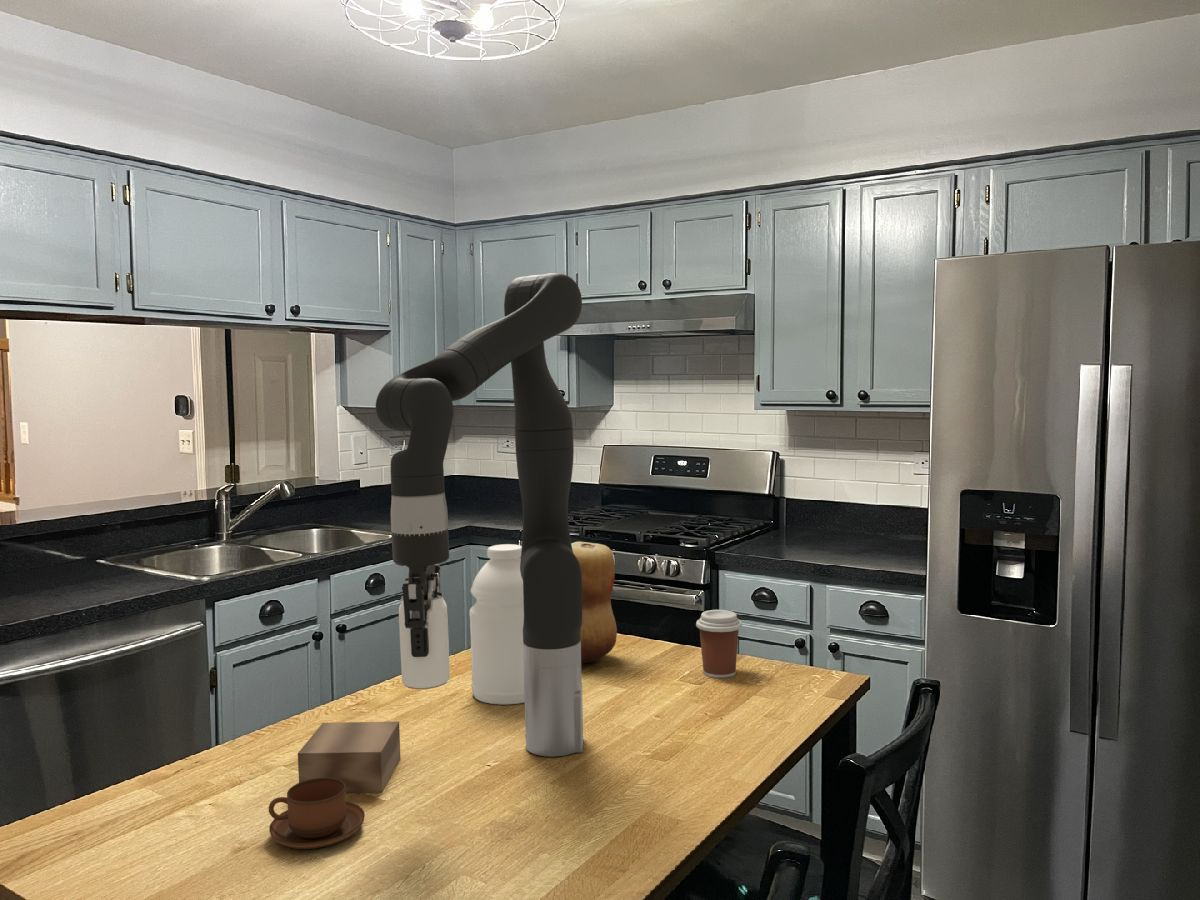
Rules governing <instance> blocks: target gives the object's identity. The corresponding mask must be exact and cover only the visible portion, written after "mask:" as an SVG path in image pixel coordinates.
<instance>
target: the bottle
mask: <svg viewBox="0 0 1200 900" xmlns="http://www.w3.org/2000/svg"><path fill="white" fill-rule="evenodd" d="M521 550H522V545H519V544H515V543H514V544H513V543H512V544H511V543H505V544H495V545H491V546H489V547H488V548H487V551H486V552H487V553H486V556H487V558H489V560H487V562H485V564H484V565H483V566H482V567H481V568H480V569H479V571H478V573H477V574H476V576H475V578H474V580H473V582H472V585H471V588H470V594H471V595H472V596H473V597H474V598H475V599H476V602H475V603H474V604H473V605H472V606H471V608H470V609H469V613H468V615H469V627H470V628H469V629H470V656H471V657H470V658H471V659H470V660H471V661H470V662H471V685H470V687H471V692H472V694H473V697H474V698H475V699H476V700H478V701H480V702H482V703H487V704H491V705H506V706H507V705H517V704H525V698H524V658H523V623H524V601H523V580H522V577H521V572H520V561H521Z"/></svg>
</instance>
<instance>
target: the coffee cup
mask: <svg viewBox="0 0 1200 900" xmlns="http://www.w3.org/2000/svg"><path fill="white" fill-rule="evenodd" d="M737 616H738V615H737V613H736V612H735V611H731V610H729V609H727V610H726V609H711V610H705V611H703V612H702V613H701V615H700V618H699V619H697V620H696V623H695V627H696V628H697V629H699V638H700V640H699V641H700V649H701V659H702V661H701V662H702V671H703V672H702V673H703V674H704V676H707V677H708V678H714V679H726V678H732V677H734V676H735V675H736V674H737V673H736V671H737V656H738V643H739V631H740V630H741V629H742V627H743V622H742V621H741V620H740V619H739V618H738V617H737Z"/></svg>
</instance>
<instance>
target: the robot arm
mask: <svg viewBox="0 0 1200 900" xmlns="http://www.w3.org/2000/svg"><path fill="white" fill-rule="evenodd" d="M581 293H582V292H581V290H580V287H579V286H578V284H577V282H576V281H575V280H574V279H573V278H572V277H570V276H569V275H566V274H565V273H560V272H559V273H558V272H551V273H550V272H549V273H542V274H533V275H525V276H518V277H515V278H514V279H513V280H511V281H510V282H509V284H508V285H507V288H506V291H505V295H504V302H503V311H504V317H502V318H499V319H498V320H495V321H493V322H491V323H488V324H485V325H483V326H481V327H478V328H477V329H474V330H473V331H470V332H468V333H467V334H465V335H463V336H462V337H460V338H458V339H457V340H456V341H454V342H453V343H451V344H450V345H449V346H447V347H446V348H445V349H444V350H442V351H441V352H440V353H438V354H437V355H435V357H433V358H431V359H429V360H427V361H425V362H422V363H420V364H417V365H416V366H413V367H411V368H410V369H407V370H405V371H403V372H401V373H399V374H397V375H396V376H394V377H393V378H391V379H390V380H389V381H387V382H386V383H385V384H384V385H383V386H382V388H381V389H380V390H379V392H378V395H377V396H376V399H375V413H376V416H377V419H378V420H379V421H380V422H381V424H382V425H383V426H384V427H386V428H388V429H390V430H393V431H397V432H410V434H409V439H408V444H407V446H406V447H407V448H406V449H402V450H399V451H397V452H395V453H394V454H393V455H392V457H391V459H390V489H391V502H390V503H391V504H390V505H391V506H390V526H391V530H390V531H391V545H392V546H391V549H392V550H391V551H392V561H393V563H394V564H395V565H397V566H399V567H400V566H401V567H407V568H408V577H406V578H405V579H404V583H403V584H402V586H401V590H402V596H403V602H404V616H405V627H406V628H409V629H410V634H411V654H412V656H413V657H426V656H427V655H428V654H429V640H428V626H429V622H428V619H429V617H428V613H429V612H430V611H432V609H433V593H434V595H438V592H441V566H440V564H443V563H445V562H447V561H448V560H449V558H450V543H449V542H450V541H449V540H450V539H449V518H448V515H449V514H448V505H447V500H446V494H445V493H446V492H445V473H444V472H445V471H444V462H445V457H446V454H447V453H446V452H447V449H448V444H449V440H450V434H451V431H452V430H451V429H452V423H453V419H454V418H453V417H454V405H453V404H454V403H453V402H454V401H455V402H456V401H459V400H462V399H464V398H466V397H467V396H469V395H471V394H473V392H474V391H475V390H477V389H478V388H479V387H481V386H482V385H483V384H484V383H486V381H488V380H489V379H490V378H491V377H493V376H494V375H495V374H496V373H497V372H499V371H501V370H502V369H503V368H505V367H506V366H507V365H509V364H510V365H511V367H510V368H511V376H512V378H511V379H512V389H513V390H512V391H513V404H514V410H513V411H514V442H515V444H514V445H515V458H516V469H517V477H518V484H519V485H518V486H519V490H520V497H521V503H522V516H523V517H522V520H523V521H522V522H523V523H522V538H521V539H522V540H521V546H522V550H521V557H520V558H521V561H520V572H521V577H522V580H523V601H524V623H523V658H524V698H525V702H524V725H525V727H524V729H525V730H524V732H525V733H524V736H525V749H526V750H527V751H528V752H529V753H531V754H533V755H537V756H539V757H540V756H542V757H564V756H568V755H571V754H575V753H583V749H584V715H583V714H584V707H583V703H584V702H583V699H584V698H583V683H582V682H583V681H582V664H581V626H582V572H581V567H580V563H579V561H578V559H577V558H576V556H575V555H574V553H573V550H572V545H571V544H572V540H571V534H570V532H571V531H570V524H569V512H568V511H569V496H570V490H571V484H572V477H573V468H574V451H575V449H574V445H575V444H574V425H573V424H574V423H573V417H572V413H571V410H570V408H569V406H568V404H567V402H566V399H565V398H564V396H563V395H562V393H561V391H560V390H559V388H558V386H557V384H556V383H555V381H554V379H553V376H552V375H551V373H550V370H549V367H548V364H547V360H546V351H545V342H546V341H547V340H549V339H551V338H553V337H555V336H558V335H560V334H562V333H564V332H566V331H568V330H569V329H571V328H572V327H573V326H574V325H575V324H576V323H577V321H578V320H579V317H580V315H581V313H582V308H583V300H582V299H583V297H582V294H581ZM424 600H428V601H427V603H426V604H424ZM415 611H419V614H420V618H415V619H414V617H413V613H414V612H415Z"/></svg>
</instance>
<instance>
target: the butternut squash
mask: <svg viewBox="0 0 1200 900" xmlns="http://www.w3.org/2000/svg"><path fill="white" fill-rule="evenodd" d="M571 545H572V550H573V553H574V555H575V556H576V558H577V559H578V561H579V563H580V567H581V572H582V626H581V665H584V664H590V663H594V662H597V661H599V660H600V659H601V658H604V657H605V656H606V655H608V654H609V653H611V651H612V650H613V649H614V647H615V645H616V643H617V636H618V628H617V623H616V618H615V615H614V611H613V608H612V602H611V600H612V594H613V590H614V589H613V587H614V583H615V577H616V574H615V572H616V571H615V569H616V567H615V566H616V565H615V557H614V554H613V552H612V550H611V548H610V547H609V546H607V545H606V544H601V543H596V542H595V543H594V542H587V541H586V542H585V541H574V542H571Z"/></svg>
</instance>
